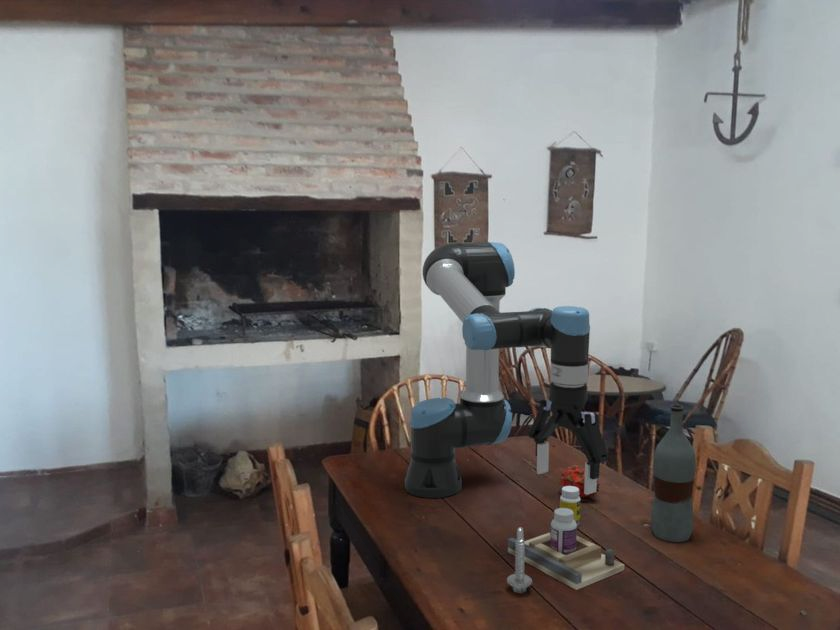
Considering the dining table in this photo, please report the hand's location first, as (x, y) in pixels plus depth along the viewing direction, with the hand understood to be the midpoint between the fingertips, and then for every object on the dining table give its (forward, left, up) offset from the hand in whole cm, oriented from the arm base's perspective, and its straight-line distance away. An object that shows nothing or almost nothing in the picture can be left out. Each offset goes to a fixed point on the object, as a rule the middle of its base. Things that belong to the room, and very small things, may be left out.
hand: (565, 482), depth 157 cm
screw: (+4, -16, -17) cm, 24 cm away
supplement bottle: (-13, +15, -17) cm, 26 cm away
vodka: (+5, +29, -17) cm, 34 cm away
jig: (0, 0, -17) cm, 17 cm away
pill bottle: (0, 0, -16) cm, 16 cm away
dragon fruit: (-23, +29, -17) cm, 41 cm away
